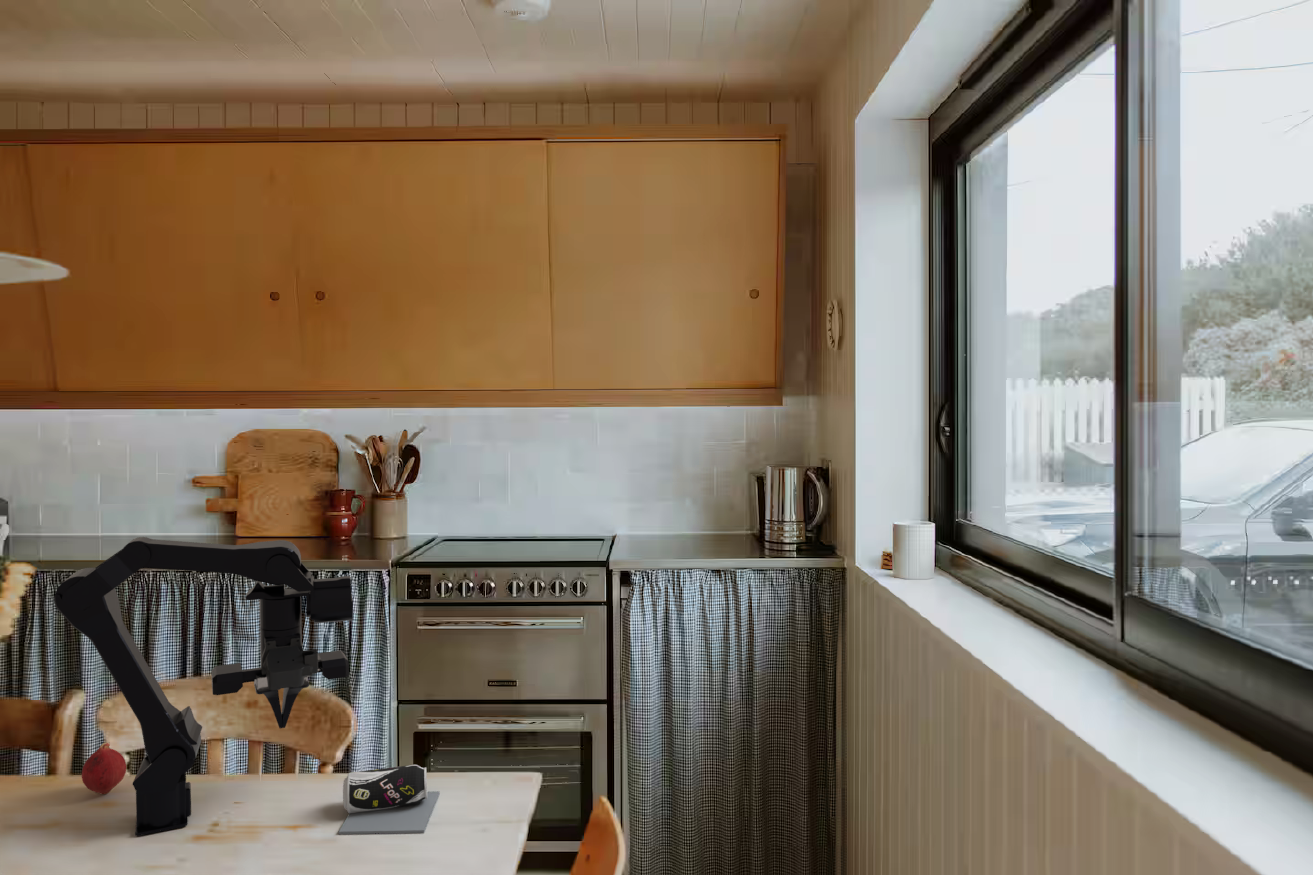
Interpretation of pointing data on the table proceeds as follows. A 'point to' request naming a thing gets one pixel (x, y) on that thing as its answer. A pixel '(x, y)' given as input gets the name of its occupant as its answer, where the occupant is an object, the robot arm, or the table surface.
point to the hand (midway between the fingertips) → (282, 727)
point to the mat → (392, 819)
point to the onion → (103, 769)
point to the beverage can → (384, 788)
